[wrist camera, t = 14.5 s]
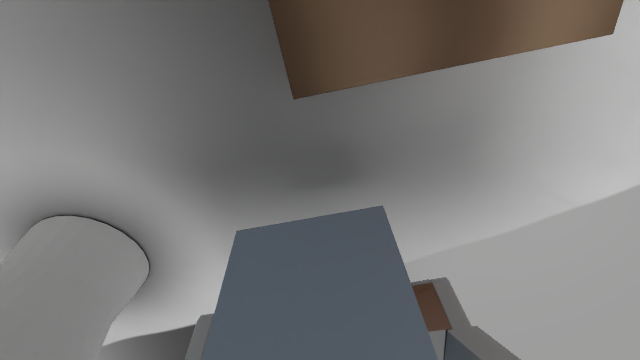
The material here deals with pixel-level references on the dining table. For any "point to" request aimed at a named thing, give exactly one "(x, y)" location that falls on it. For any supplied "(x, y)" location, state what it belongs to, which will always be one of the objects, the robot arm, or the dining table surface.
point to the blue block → (318, 294)
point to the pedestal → (420, 35)
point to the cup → (66, 288)
